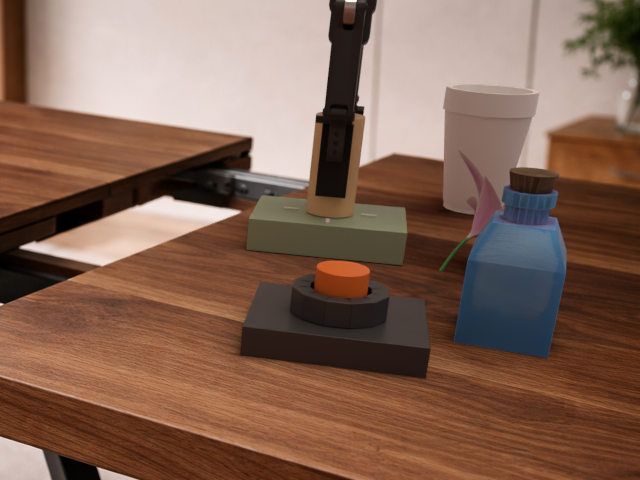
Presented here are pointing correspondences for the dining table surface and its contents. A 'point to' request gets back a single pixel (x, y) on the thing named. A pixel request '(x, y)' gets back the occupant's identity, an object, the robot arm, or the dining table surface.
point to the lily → (478, 205)
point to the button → (342, 279)
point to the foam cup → (483, 137)
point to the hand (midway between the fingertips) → (332, 189)
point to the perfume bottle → (516, 271)
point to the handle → (345, 206)
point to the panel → (328, 231)
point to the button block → (338, 329)
